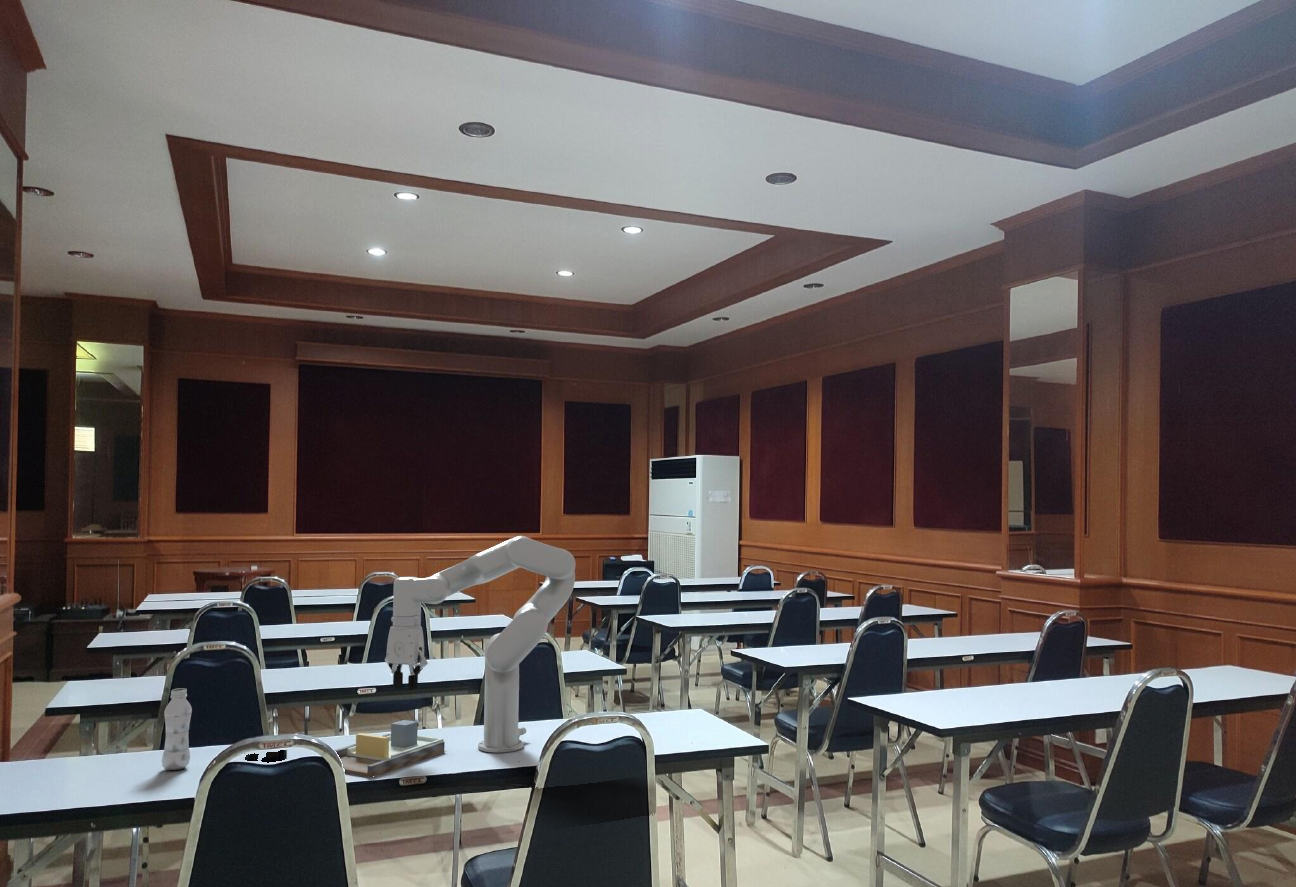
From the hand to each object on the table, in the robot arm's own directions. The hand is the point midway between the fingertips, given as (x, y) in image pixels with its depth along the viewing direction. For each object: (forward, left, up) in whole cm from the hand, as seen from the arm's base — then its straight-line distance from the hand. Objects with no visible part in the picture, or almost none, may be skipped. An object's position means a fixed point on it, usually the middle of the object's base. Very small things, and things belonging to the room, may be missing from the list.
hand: (405, 687), depth 252 cm
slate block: (0, 0, -15) cm, 15 cm away
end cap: (+30, -19, -18) cm, 40 cm away
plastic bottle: (+40, -40, -18) cm, 59 cm away
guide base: (+9, 0, -17) cm, 20 cm away
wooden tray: (+3, 0, -16) cm, 17 cm away
